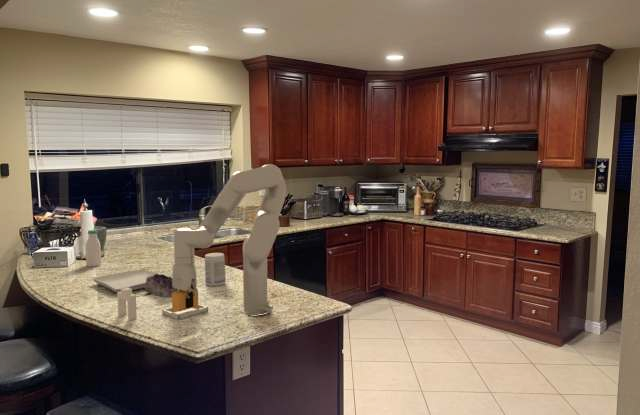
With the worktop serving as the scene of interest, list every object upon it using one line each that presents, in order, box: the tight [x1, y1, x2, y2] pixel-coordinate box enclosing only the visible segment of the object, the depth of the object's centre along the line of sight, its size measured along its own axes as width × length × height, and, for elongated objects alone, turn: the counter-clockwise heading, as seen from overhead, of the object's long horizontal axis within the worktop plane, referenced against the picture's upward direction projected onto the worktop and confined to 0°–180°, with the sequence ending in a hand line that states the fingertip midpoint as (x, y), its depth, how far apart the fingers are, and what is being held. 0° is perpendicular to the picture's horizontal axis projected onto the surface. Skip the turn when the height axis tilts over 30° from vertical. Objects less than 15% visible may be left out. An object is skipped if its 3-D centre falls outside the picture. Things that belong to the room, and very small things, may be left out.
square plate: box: [91, 269, 161, 293], centre depth 237 cm, size 27×27×4 cm
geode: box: [144, 273, 176, 298], centre depth 220 cm, size 20×12×10 cm, turn 44°
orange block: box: [171, 291, 199, 312], centre depth 191 cm, size 4×9×6 cm, turn 141°
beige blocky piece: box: [116, 288, 138, 321], centre depth 186 cm, size 8×3×11 cm, turn 51°
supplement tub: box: [204, 252, 226, 287], centre depth 238 cm, size 10×10×15 cm
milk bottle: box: [85, 229, 102, 268], centre depth 275 cm, size 8×8×20 cm
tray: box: [161, 303, 209, 321], centre depth 192 cm, size 11×14×2 cm
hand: (185, 305), depth 192 cm, fingers closed on orange block, 4 cm apart
